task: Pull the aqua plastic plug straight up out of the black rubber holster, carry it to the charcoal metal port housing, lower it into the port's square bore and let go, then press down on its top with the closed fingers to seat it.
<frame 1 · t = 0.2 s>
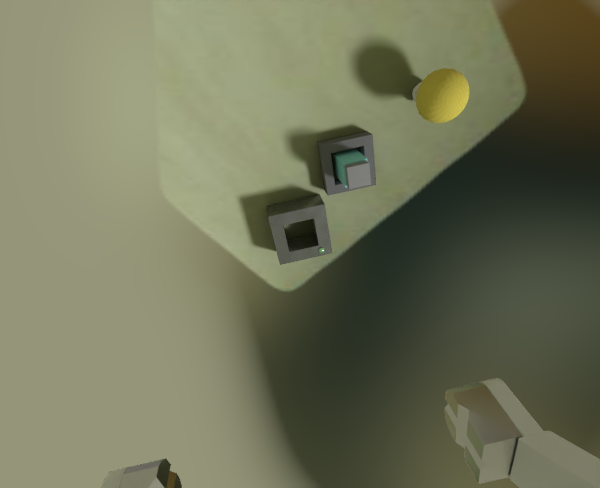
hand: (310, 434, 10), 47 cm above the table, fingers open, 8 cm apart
plug: (345, 161, 55), resting in holster
light bulb: (419, 92, 52), on the table
holster: (345, 161, 55), on the table
port: (297, 224, 59), on the table
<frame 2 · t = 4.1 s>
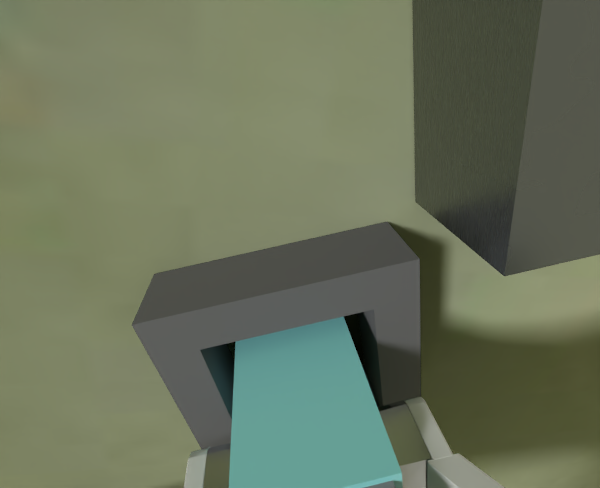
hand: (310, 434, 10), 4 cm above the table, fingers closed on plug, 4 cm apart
plug: (294, 333, 13), resting in holster, touching gripper
holster: (294, 334, 13), on the table
port: (572, 15, 9), on the table
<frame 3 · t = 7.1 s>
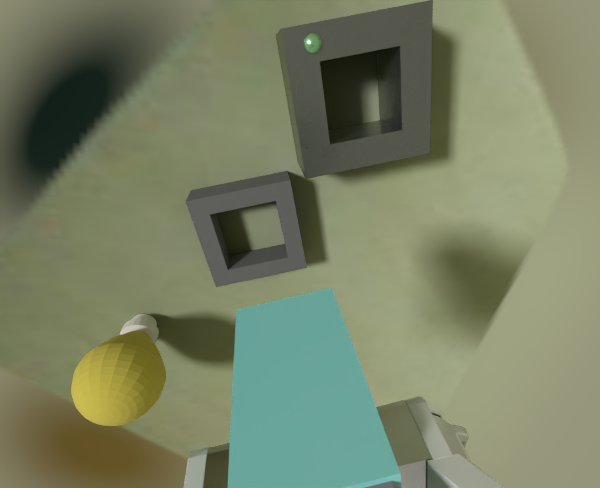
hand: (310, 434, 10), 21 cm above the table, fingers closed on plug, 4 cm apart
plug: (293, 334, 13), point 17 cm above the table, touching gripper
light bulb: (144, 322, 33), on the table
holster: (250, 224, 30), on the table
port: (346, 92, 26), on the table
when the fingers open (6 cm above the table, at t = 10.4 s): plug drops 2 cm, resting in port.
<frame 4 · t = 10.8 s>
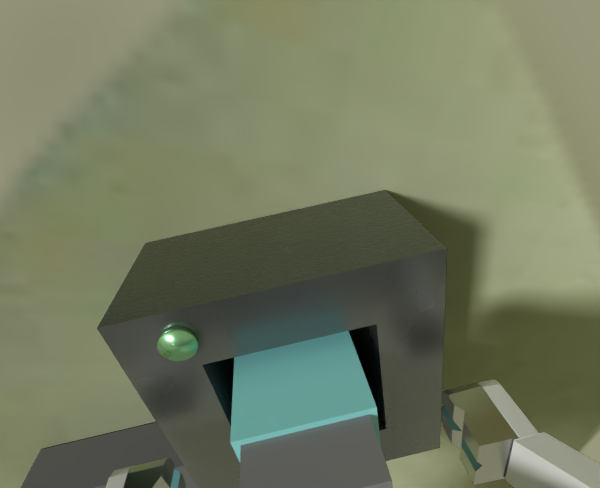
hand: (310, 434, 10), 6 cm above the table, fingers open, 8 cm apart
plug: (289, 309, 15), resting in port
holster: (153, 473, 19), on the table
port: (290, 309, 15), on the table
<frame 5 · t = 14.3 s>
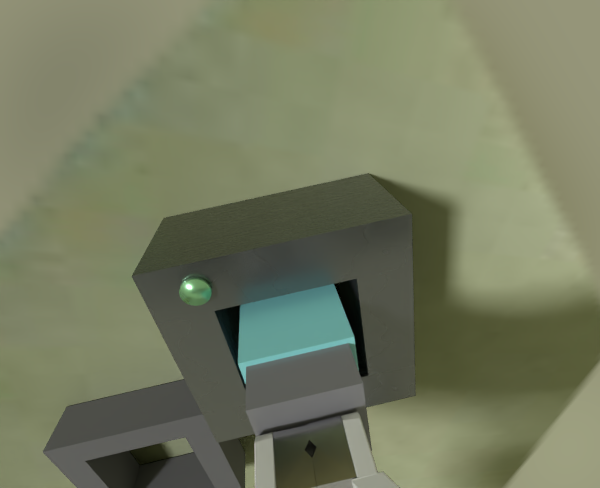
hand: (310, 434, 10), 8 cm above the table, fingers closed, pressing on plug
plug: (287, 279, 17), resting in port, touching gripper
holster: (164, 432, 21), on the table
port: (287, 280, 17), on the table
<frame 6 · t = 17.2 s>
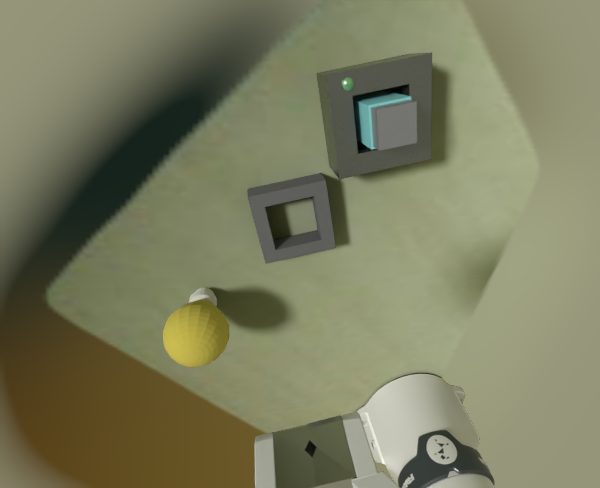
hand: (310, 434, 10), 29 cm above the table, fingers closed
plug: (367, 113, 34), resting in port
light bulb: (204, 294, 42), on the table
holster: (291, 214, 38), on the table
port: (367, 113, 34), on the table
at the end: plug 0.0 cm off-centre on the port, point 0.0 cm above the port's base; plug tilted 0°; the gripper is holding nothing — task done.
